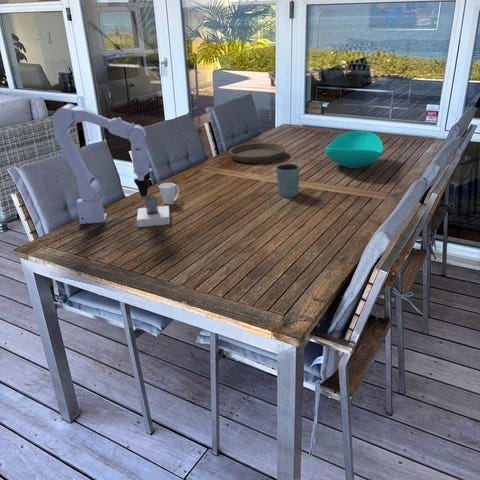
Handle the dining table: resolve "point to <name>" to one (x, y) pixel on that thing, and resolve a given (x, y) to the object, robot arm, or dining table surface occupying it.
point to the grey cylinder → (151, 205)
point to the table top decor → (355, 149)
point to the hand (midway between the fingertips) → (144, 192)
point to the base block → (153, 217)
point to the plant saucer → (257, 152)
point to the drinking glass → (288, 179)
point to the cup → (168, 192)
